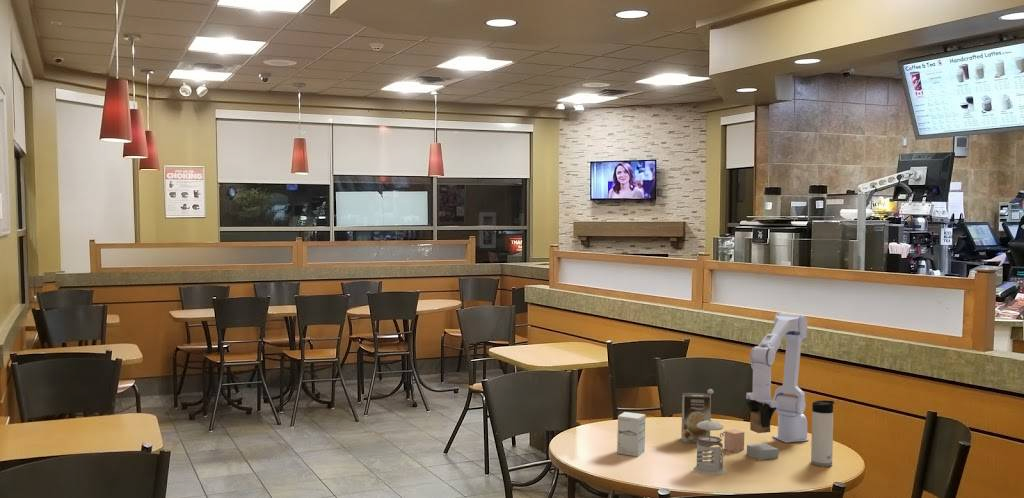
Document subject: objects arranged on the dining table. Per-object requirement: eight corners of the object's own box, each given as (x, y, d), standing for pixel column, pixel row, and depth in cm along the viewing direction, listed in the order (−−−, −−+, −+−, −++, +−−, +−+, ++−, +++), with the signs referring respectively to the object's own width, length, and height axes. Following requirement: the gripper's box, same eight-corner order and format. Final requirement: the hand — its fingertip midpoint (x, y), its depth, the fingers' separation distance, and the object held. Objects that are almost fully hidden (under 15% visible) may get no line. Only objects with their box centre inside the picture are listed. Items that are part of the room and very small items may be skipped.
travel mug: (835, 467, 263) (836, 403, 262) (812, 466, 264) (813, 402, 263) (831, 461, 269) (832, 399, 268) (809, 460, 270) (810, 398, 269)
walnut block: (762, 428, 280) (762, 410, 279) (770, 432, 275) (770, 413, 275) (750, 429, 278) (750, 411, 278) (758, 433, 274) (758, 414, 274)
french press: (702, 463, 266) (703, 384, 265) (736, 470, 259) (738, 389, 258) (687, 470, 259) (688, 389, 258) (722, 478, 251) (723, 394, 250)
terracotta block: (733, 446, 286) (733, 429, 286) (744, 449, 282) (744, 431, 282) (724, 448, 284) (724, 430, 283) (734, 451, 280) (734, 433, 280)
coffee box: (682, 442, 290) (683, 396, 290) (681, 438, 297) (681, 392, 296) (710, 443, 289) (710, 397, 289) (707, 438, 296) (708, 393, 295)
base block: (765, 452, 279) (765, 443, 279) (777, 458, 272) (778, 448, 272) (746, 454, 277) (746, 444, 277) (759, 460, 270) (759, 450, 270)
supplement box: (616, 454, 276) (616, 415, 276) (624, 448, 283) (624, 411, 282) (638, 457, 273) (638, 418, 272) (645, 451, 279) (646, 413, 279)
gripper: (738, 380, 282) (737, 420, 283) (764, 388, 268) (763, 431, 269) (756, 379, 284) (756, 419, 285) (783, 387, 270) (782, 429, 271)
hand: (760, 424), depth 277 cm, fingers closed on walnut block, 4 cm apart
